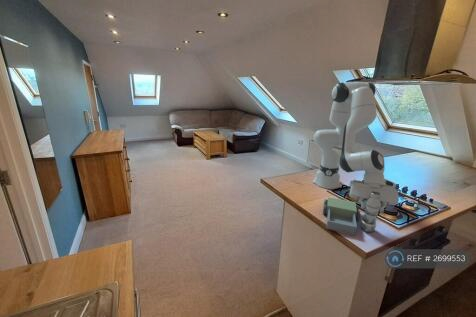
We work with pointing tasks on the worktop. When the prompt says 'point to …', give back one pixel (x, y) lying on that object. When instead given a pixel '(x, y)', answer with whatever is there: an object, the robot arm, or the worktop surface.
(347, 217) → the toy pickup truck
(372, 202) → the silver metal bottle
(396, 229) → the worktop surface
